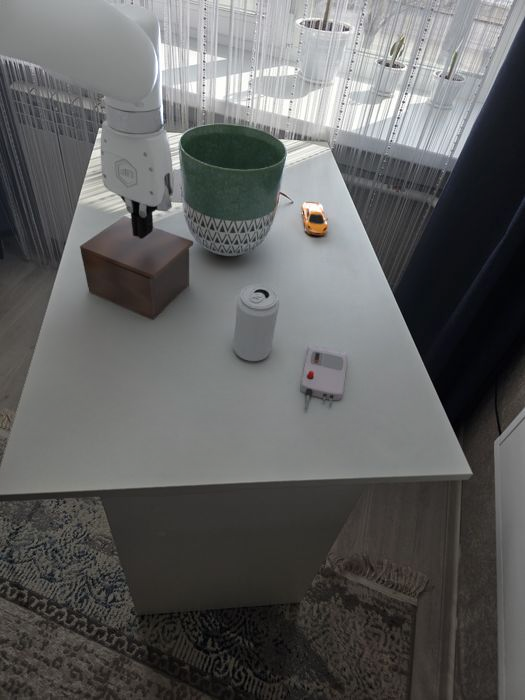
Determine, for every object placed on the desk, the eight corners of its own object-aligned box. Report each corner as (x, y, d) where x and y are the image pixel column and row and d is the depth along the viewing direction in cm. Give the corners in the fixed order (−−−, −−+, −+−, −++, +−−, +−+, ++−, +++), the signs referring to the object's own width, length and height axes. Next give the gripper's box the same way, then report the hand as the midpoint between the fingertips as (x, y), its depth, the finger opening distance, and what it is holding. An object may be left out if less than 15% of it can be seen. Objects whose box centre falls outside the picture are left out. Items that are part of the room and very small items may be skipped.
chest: (189, 284, 89) (189, 244, 83) (153, 320, 81) (149, 279, 75) (129, 260, 92) (124, 219, 86) (88, 291, 84) (80, 250, 78)
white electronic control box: (346, 349, 81) (350, 337, 79) (338, 420, 71) (343, 409, 68) (309, 340, 82) (312, 328, 80) (295, 410, 71) (298, 398, 69)
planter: (175, 270, 91) (173, 164, 76) (184, 218, 105) (183, 118, 89) (274, 278, 93) (291, 175, 78) (270, 225, 107) (284, 129, 91)
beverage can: (277, 347, 80) (288, 293, 71) (257, 370, 76) (265, 315, 67) (246, 331, 82) (253, 276, 73) (225, 352, 78) (229, 296, 69)
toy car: (303, 237, 105) (306, 223, 102) (298, 209, 113) (300, 196, 111) (328, 239, 106) (332, 225, 103) (322, 211, 114) (324, 198, 111)
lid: (193, 244, 82) (193, 241, 82) (153, 279, 74) (153, 275, 74) (124, 219, 86) (124, 215, 85) (80, 250, 78) (79, 246, 77)
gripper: (71, 109, 63) (90, 228, 76) (165, 140, 60) (168, 260, 73) (108, 95, 68) (120, 210, 81) (196, 123, 65) (194, 238, 78)
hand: (143, 233), depth 77 cm, fingers closed
